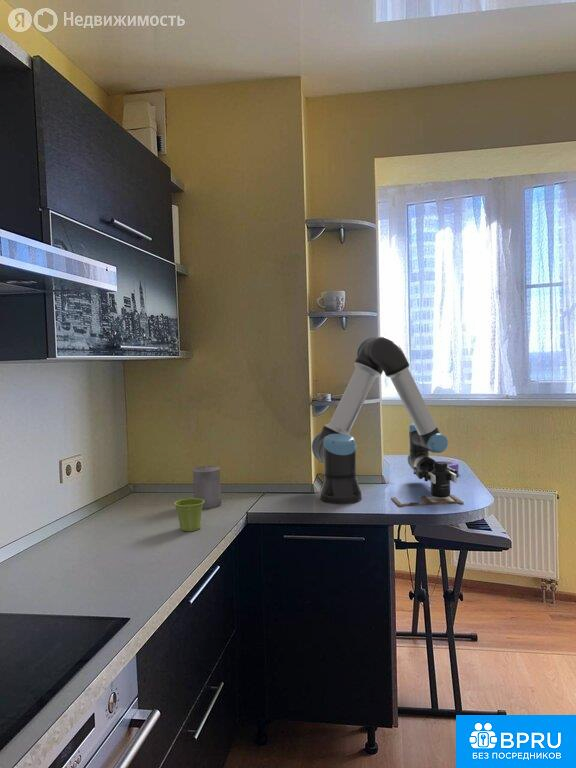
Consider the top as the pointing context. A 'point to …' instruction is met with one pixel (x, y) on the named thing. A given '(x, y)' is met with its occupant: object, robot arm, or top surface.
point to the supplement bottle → (441, 480)
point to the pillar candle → (207, 485)
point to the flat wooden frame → (431, 501)
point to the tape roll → (451, 465)
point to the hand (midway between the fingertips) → (444, 479)
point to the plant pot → (189, 513)
